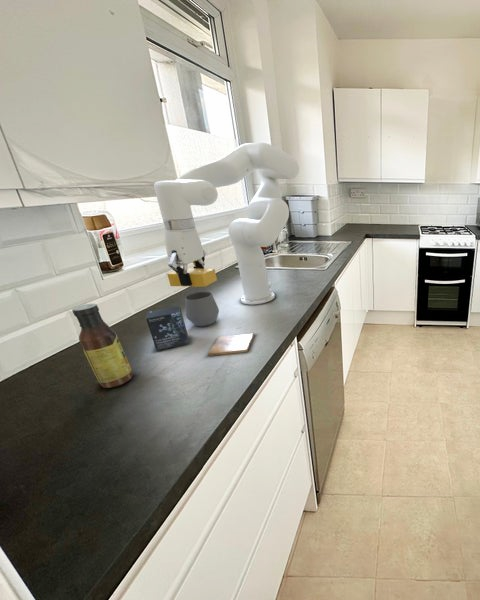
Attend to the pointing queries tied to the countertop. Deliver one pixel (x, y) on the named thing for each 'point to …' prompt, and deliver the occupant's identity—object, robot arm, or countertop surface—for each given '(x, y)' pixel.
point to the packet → (195, 277)
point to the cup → (201, 308)
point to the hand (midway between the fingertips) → (194, 281)
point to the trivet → (231, 344)
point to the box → (167, 328)
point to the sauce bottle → (102, 347)
